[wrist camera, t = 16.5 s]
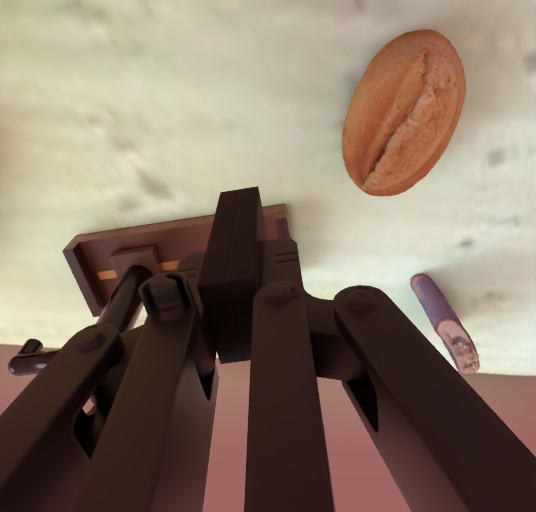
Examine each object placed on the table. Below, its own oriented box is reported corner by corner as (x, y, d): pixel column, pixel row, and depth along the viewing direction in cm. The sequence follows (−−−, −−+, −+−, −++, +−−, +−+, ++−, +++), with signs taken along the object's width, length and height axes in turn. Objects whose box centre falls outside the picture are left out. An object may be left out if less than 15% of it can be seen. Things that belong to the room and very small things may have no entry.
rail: (284, 203, 44) (286, 217, 41) (295, 272, 49) (297, 289, 46) (75, 235, 46) (61, 250, 43) (103, 299, 50) (93, 317, 47)
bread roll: (318, 175, 43) (329, 205, 36) (367, 14, 35) (392, 12, 28) (404, 194, 44) (430, 226, 37) (468, 42, 37) (515, 46, 30)
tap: (154, 245, 44) (105, 344, 30) (173, 301, 48) (137, 412, 34) (62, 258, 45) (-26, 361, 31) (88, 312, 48) (19, 426, 35)
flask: (405, 279, 49) (439, 338, 40) (428, 267, 48) (468, 325, 39) (434, 327, 53) (470, 392, 44) (455, 318, 52) (497, 381, 43)
